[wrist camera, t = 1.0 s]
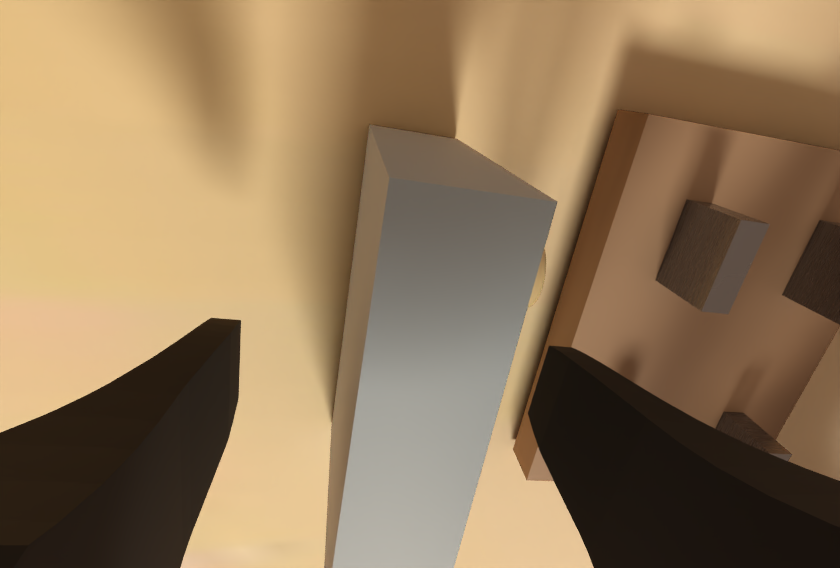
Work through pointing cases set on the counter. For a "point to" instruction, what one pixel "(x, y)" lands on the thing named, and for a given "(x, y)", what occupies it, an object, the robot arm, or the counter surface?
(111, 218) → the counter surface
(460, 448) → the grey rectangular block
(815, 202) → the cabinet base
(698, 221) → the short dark cabinet legs
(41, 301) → the counter surface
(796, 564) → the robot arm
